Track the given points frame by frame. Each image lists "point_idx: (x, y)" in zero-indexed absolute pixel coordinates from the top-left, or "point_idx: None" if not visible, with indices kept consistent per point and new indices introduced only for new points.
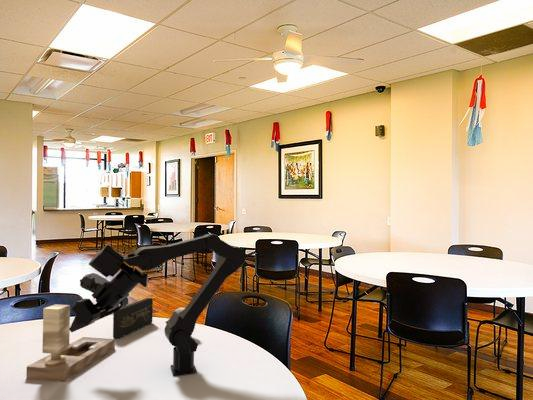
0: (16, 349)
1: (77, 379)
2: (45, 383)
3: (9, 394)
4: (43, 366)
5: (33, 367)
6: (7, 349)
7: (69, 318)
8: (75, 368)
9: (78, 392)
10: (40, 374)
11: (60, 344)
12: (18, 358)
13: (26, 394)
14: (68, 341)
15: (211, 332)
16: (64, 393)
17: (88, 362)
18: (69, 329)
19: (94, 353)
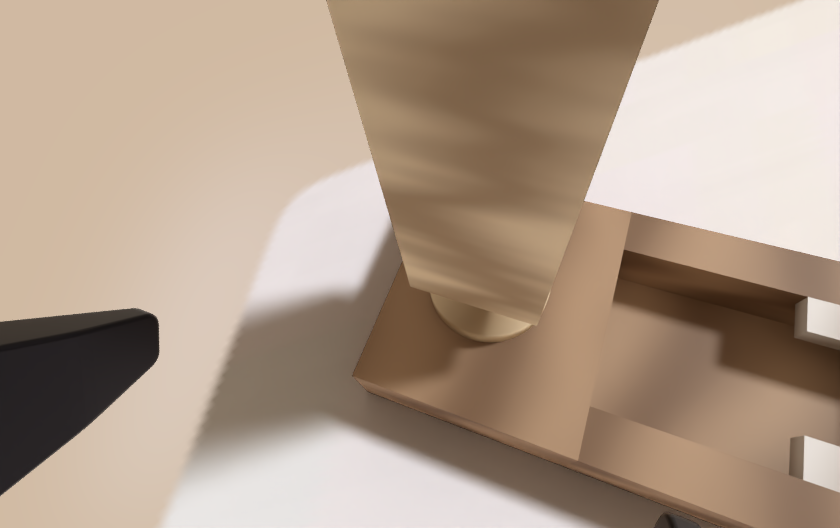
0: (824, 33)
1: (384, 461)
2: (369, 303)
3: (292, 204)
4: None
5: None
6: (815, 5)
7: (586, 170)
8: (461, 421)
9: (200, 515)
10: None
11: (429, 266)
12: (701, 85)
13: (269, 265)
14: (531, 301)
15: None
16: (217, 437)
17: (605, 479)
18: (138, 313)
19: (704, 510)
